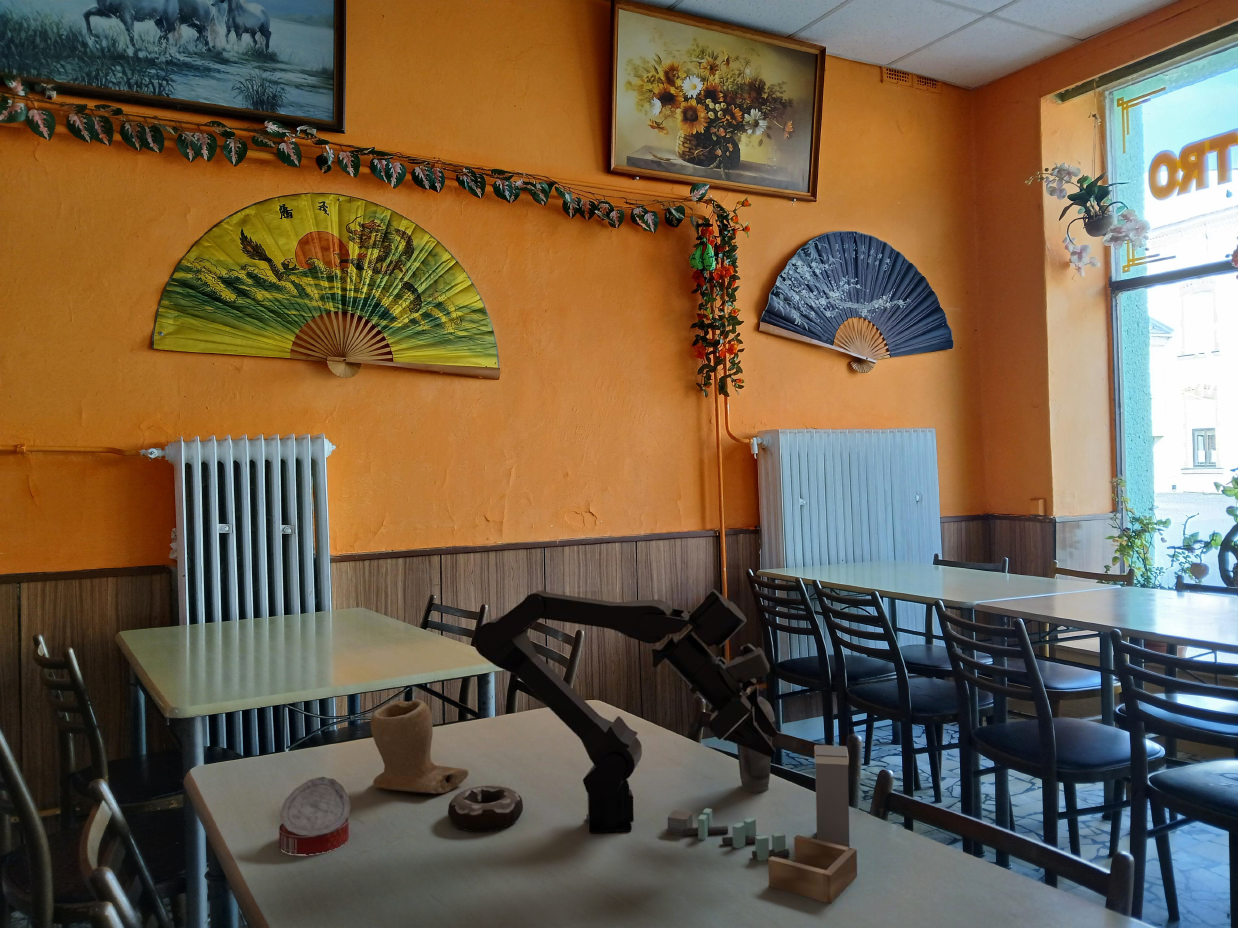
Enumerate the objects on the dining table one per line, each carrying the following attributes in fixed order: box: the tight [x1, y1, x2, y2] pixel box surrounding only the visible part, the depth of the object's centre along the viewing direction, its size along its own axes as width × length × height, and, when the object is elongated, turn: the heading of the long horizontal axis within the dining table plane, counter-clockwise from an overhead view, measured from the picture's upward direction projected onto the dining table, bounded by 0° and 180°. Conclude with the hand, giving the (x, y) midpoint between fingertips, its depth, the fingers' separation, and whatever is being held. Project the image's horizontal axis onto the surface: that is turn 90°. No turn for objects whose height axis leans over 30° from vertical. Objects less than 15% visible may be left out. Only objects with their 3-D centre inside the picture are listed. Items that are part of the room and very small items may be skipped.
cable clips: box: [697, 807, 787, 861], centre depth 129 cm, size 6×14×3 cm, turn 46°
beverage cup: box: [736, 686, 776, 793], centre depth 151 cm, size 7×7×20 cm
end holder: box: [768, 834, 858, 904], centre depth 117 cm, size 8×9×4 cm
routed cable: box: [682, 825, 790, 859], centre depth 129 cm, size 13×10×1 cm
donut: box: [447, 784, 524, 832], centre depth 140 cm, size 12×12×4 cm
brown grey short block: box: [667, 809, 694, 837], centre depth 134 cm, size 3×3×2 cm
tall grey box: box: [813, 744, 851, 848], centre depth 130 cm, size 5×5×13 cm
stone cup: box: [370, 699, 470, 794], centre depth 154 cm, size 15×12×15 cm
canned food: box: [278, 776, 352, 855], centre depth 133 cm, size 11×10×10 cm
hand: (774, 744), depth 132 cm, fingers open, 9 cm apart
